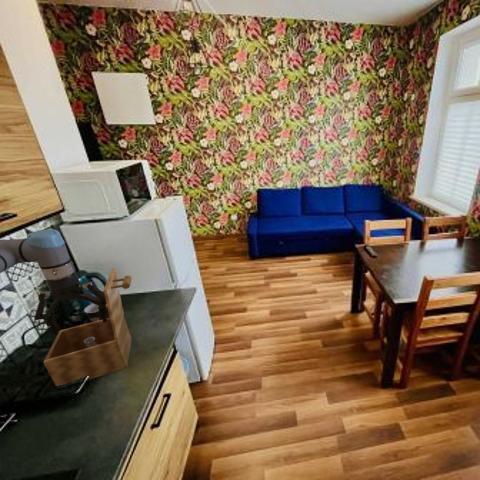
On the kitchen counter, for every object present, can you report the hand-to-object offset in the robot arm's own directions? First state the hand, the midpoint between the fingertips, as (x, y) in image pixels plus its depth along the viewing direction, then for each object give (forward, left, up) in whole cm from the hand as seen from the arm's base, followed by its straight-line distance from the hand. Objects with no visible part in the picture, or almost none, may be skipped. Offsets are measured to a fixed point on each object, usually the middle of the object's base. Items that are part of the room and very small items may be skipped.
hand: (82, 326), depth 96 cm
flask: (0, 0, -17) cm, 17 cm away
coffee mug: (-14, +20, -18) cm, 30 cm away
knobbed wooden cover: (+9, +6, +6) cm, 13 cm away
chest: (0, 0, -18) cm, 18 cm away
